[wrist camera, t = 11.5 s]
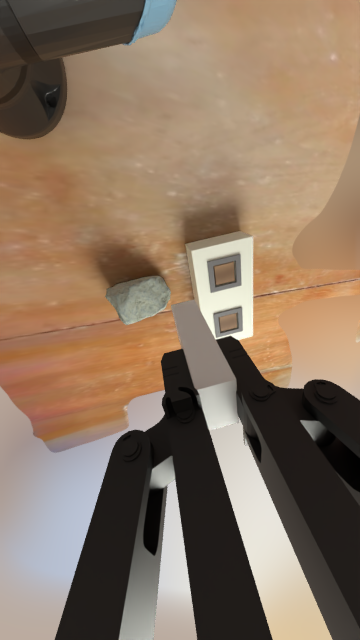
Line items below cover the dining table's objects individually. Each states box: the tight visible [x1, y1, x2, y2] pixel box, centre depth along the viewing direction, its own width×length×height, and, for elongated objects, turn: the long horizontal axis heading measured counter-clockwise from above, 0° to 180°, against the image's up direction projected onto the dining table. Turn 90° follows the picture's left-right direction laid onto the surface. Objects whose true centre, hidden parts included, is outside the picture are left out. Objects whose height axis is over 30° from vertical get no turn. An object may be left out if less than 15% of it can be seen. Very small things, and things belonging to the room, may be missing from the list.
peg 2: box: [218, 313, 237, 331], centre depth 53 cm, size 4×4×6 cm
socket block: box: [185, 231, 253, 340], centre depth 49 cm, size 24×12×6 cm, turn 11°
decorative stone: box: [105, 276, 171, 325], centre depth 46 cm, size 13×11×10 cm
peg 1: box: [213, 261, 235, 285], centre depth 46 cm, size 4×4×6 cm
